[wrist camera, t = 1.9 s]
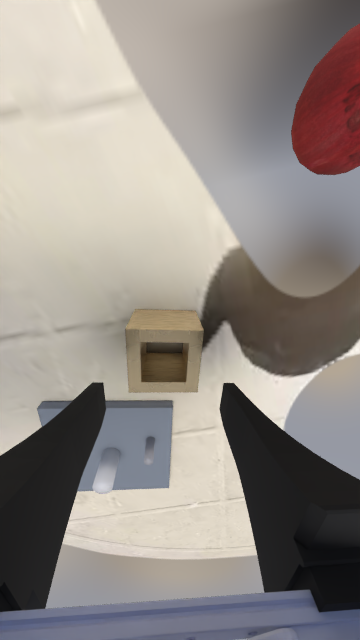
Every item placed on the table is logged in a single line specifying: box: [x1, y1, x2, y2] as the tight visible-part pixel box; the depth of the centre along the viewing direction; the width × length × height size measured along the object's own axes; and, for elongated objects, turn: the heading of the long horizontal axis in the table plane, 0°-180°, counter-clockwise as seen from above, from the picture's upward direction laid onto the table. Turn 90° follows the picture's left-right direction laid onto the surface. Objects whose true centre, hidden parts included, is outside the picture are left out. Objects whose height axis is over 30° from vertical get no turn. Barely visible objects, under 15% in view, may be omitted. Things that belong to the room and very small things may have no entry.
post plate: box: [37, 401, 173, 494], centre depth 22 cm, size 14×14×4 cm
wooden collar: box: [125, 309, 204, 392], centre depth 17 cm, size 6×7×4 cm
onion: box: [291, 24, 360, 175], centre depth 10 cm, size 6×6×8 cm
